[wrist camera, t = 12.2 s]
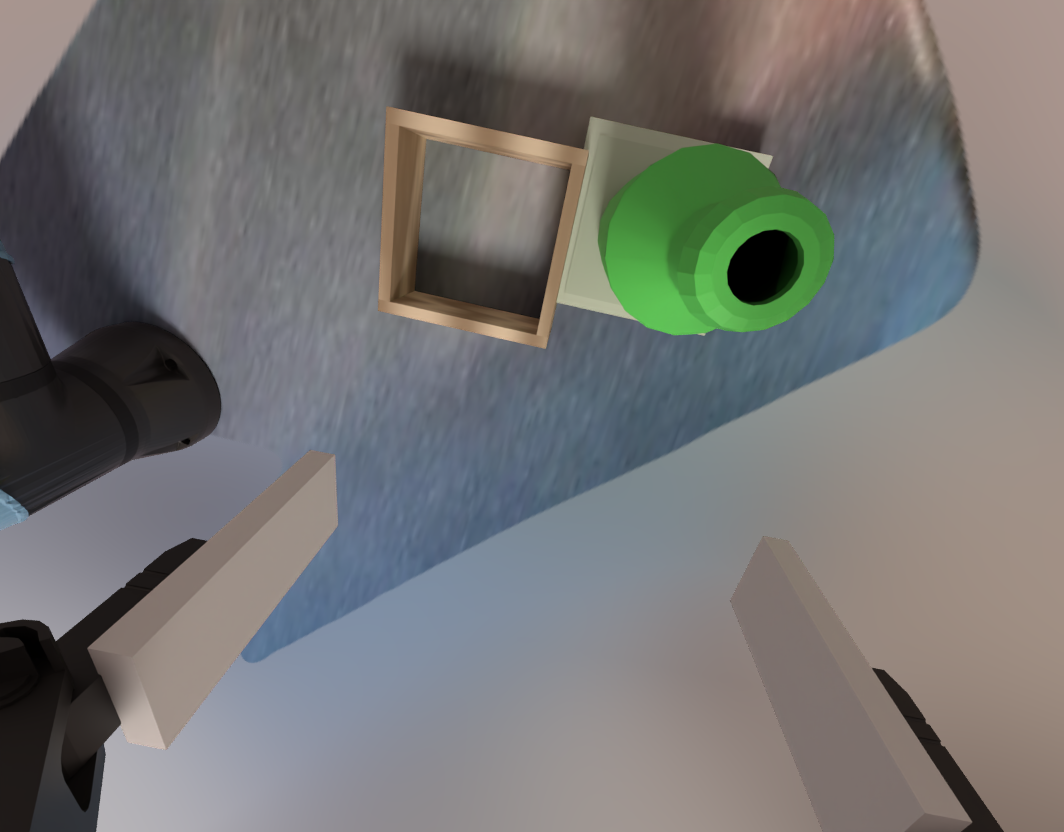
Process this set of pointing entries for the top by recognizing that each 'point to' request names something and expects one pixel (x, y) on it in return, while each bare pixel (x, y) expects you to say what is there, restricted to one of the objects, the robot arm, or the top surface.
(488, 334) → the open square wooden frame
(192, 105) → the top surface
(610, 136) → the stand block
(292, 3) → the top surface
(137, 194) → the top surface
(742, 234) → the bottle
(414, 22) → the top surface
